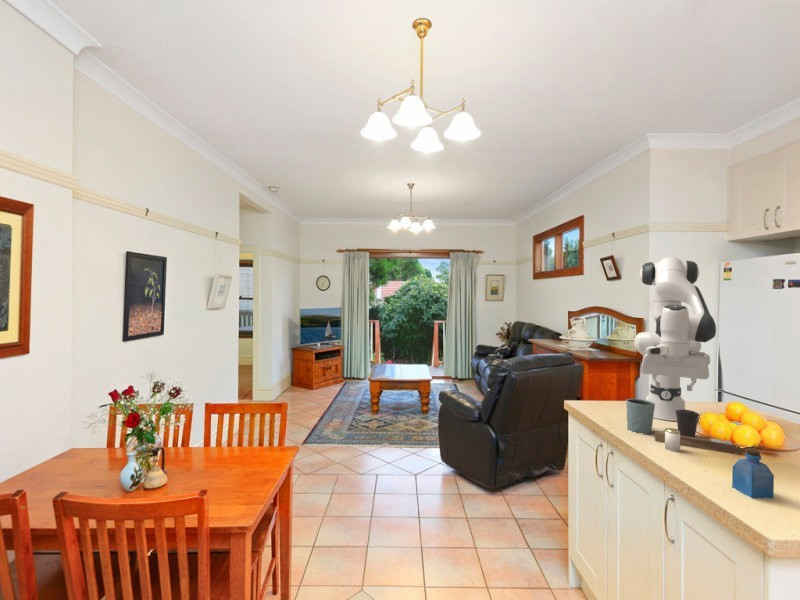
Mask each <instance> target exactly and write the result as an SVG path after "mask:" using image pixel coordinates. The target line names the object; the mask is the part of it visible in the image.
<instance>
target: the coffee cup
mask: <svg viewBox="0 0 800 600" xmlns="http://www.w3.org/2000/svg"><path fill="white" fill-rule="evenodd" d="M675 413H676V416H677V421H676V422H677V423H676V424H677V430H680V435H681V436H687V437H694V438H696V433H697V426H698V422H699V417H701V416H700V414H699V413H698V412H697V411H693V410H690V409H685V410H676V411H675Z"/></svg>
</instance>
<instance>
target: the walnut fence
mask: <svg viewBox="0 0 800 600" xmlns="http://www.w3.org/2000/svg"><path fill="white" fill-rule="evenodd" d="M721 440H722V439H718V438H709V439H705V438H699V437H695V438H694V437H687V436H681V435H680V446H683V447H684V446H685V447H689V448H690V447H691V448H696V449H702V450H703V449H704V450H710V451H714V452H722V453H727V452H729V453H728V454H733V453H735V455H738V456H739V455H740V456H744V448H740V446H738V445H734V444H732V442H731V441H726V440H725V441H721ZM658 441H660V443H665V432H660V431H654V442H658ZM736 446H737V447H736Z"/></svg>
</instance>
